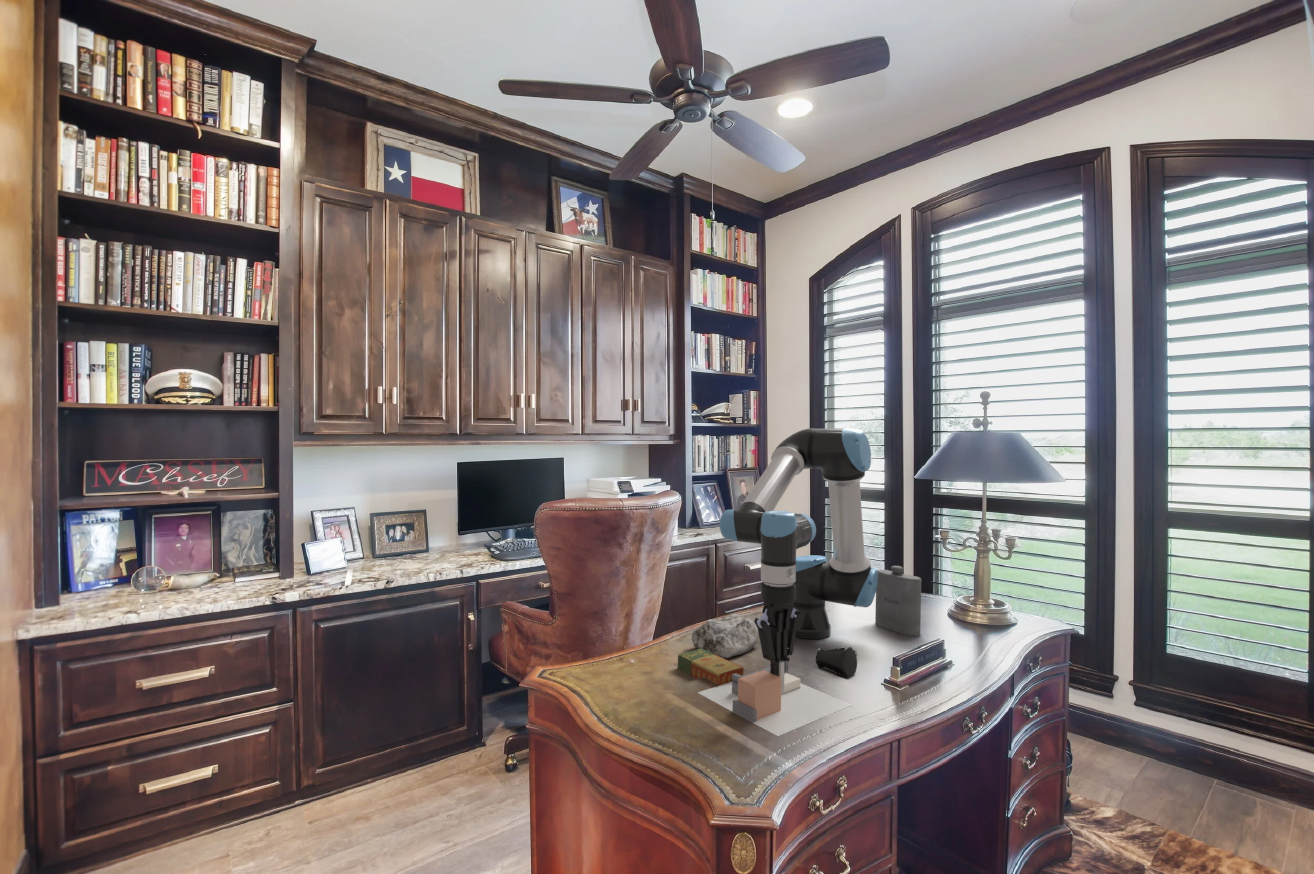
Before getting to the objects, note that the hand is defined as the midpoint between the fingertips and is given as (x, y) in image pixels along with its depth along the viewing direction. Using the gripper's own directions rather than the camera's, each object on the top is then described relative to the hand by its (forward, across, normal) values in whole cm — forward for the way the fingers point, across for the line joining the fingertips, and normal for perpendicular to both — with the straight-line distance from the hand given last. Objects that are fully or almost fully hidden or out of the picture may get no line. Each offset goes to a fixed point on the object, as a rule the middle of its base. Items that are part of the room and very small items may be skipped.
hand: (777, 689), depth 129 cm
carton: (+5, 0, +23) cm, 23 cm away
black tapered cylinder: (+6, +34, +7) cm, 35 cm away
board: (+4, +1, +2) cm, 5 cm away
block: (+3, -6, 0) cm, 7 cm away
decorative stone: (+5, +18, +34) cm, 39 cm away
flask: (+7, +74, +16) cm, 76 cm away
